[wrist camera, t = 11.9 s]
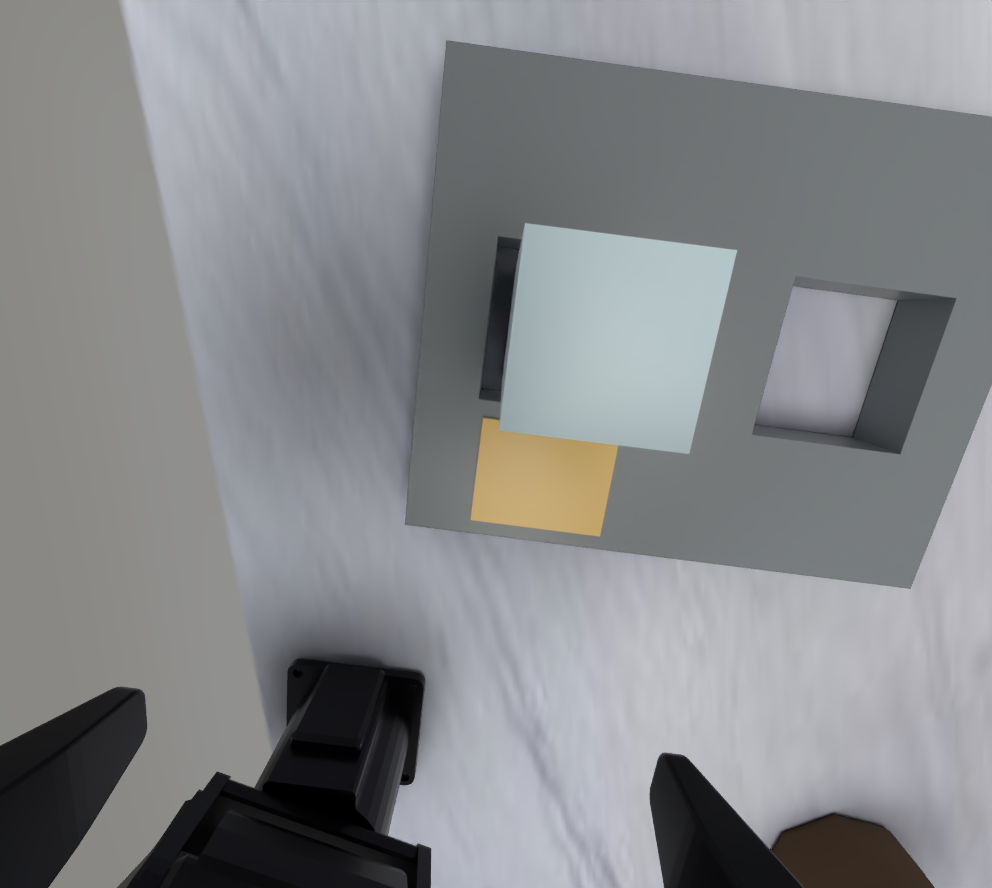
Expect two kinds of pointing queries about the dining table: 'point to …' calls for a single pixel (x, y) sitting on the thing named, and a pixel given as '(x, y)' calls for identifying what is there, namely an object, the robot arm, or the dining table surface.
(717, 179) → the socket panel
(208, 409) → the dining table surface
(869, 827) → the beer bottle
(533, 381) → the plug
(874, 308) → the dining table surface
